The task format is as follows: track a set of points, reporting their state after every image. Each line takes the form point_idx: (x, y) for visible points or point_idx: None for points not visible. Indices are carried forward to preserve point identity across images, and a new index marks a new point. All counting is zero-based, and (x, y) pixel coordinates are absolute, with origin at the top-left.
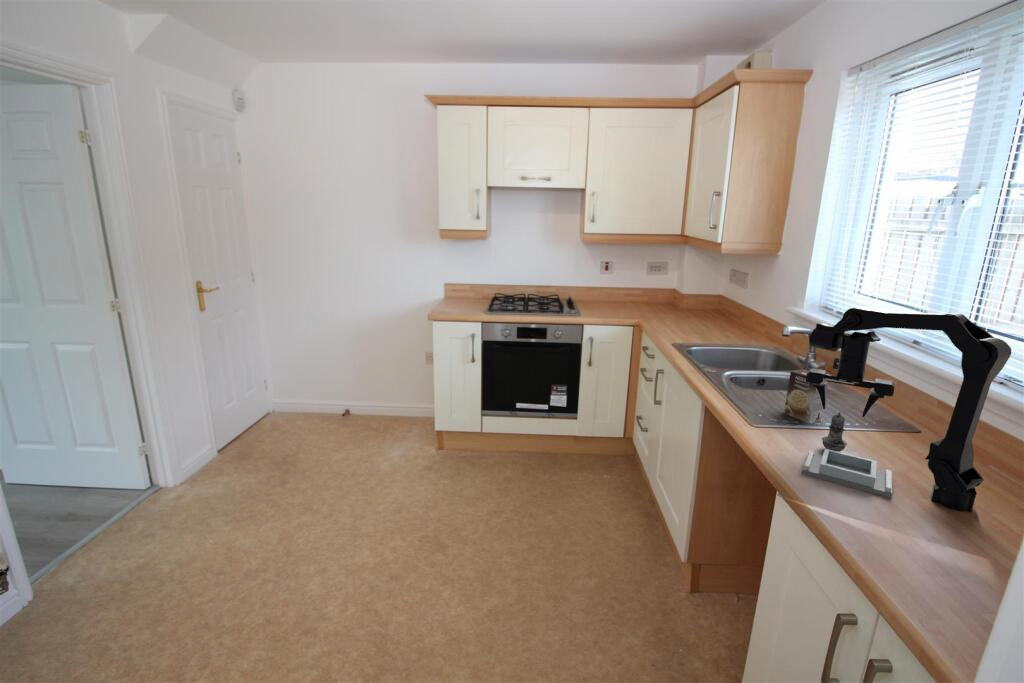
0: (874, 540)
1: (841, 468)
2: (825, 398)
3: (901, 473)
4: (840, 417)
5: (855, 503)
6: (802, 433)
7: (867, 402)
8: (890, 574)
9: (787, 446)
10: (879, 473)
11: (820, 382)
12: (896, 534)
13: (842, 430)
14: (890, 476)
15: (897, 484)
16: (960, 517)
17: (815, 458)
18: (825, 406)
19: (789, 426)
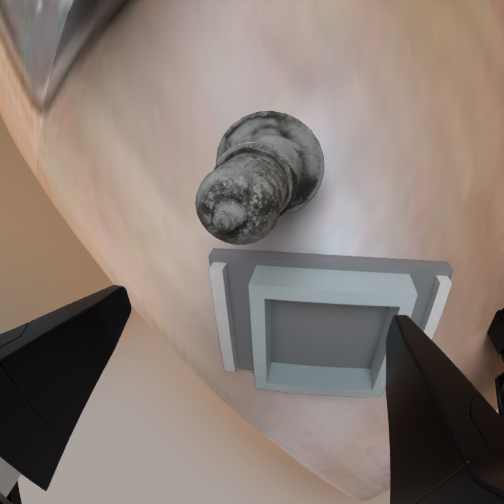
0: (344, 457)
1: (305, 390)
2: (84, 391)
3: (483, 203)
4: (245, 235)
5: (335, 411)
6: (152, 26)
7: (393, 502)
8: (346, 478)
9: (144, 199)
10: (417, 291)
11: (17, 495)
12: (376, 443)
13: (287, 205)
14: (434, 327)
15: (450, 293)
16: (500, 362)
17: (236, 288)
18: (119, 325)
19: (108, 3)
